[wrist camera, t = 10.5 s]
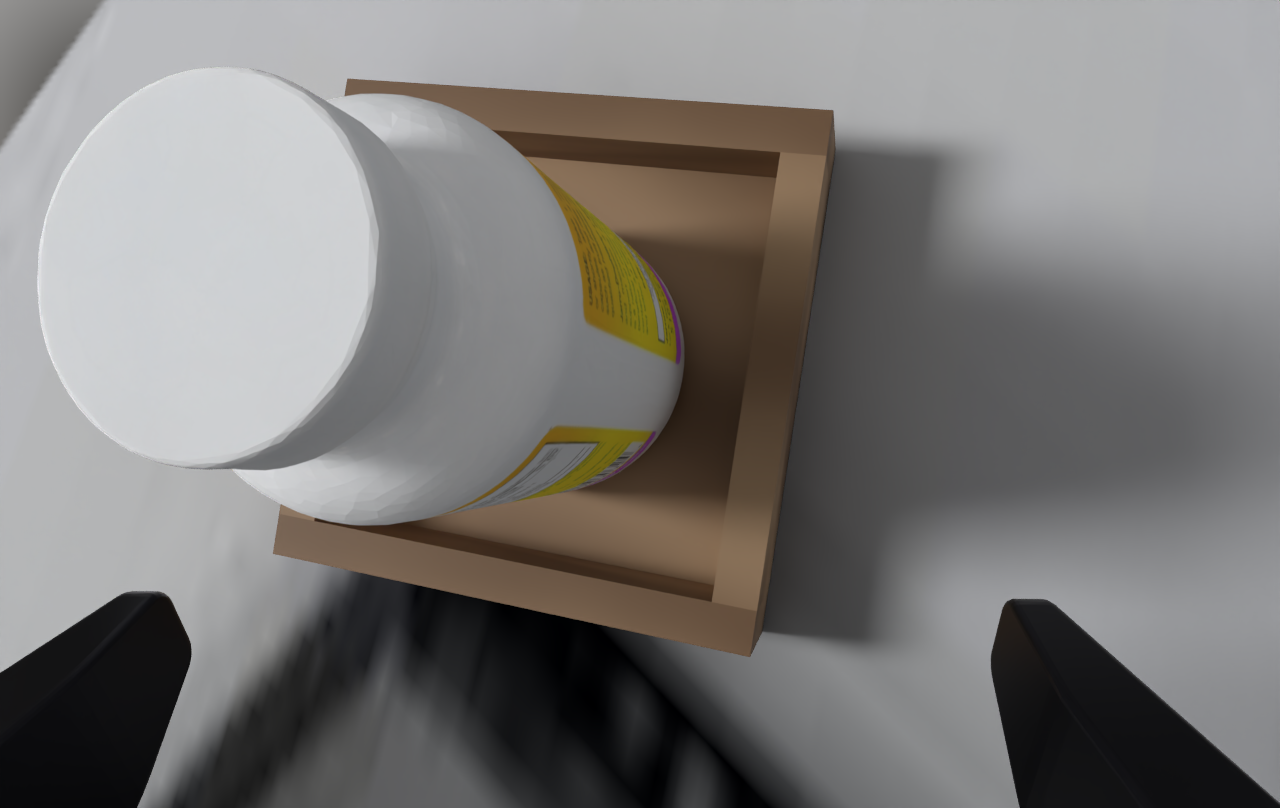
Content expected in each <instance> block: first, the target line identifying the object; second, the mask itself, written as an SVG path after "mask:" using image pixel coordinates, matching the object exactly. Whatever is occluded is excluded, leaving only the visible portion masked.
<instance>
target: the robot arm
mask: <svg viewBox="0 0 1280 808" xmlns="http://www.w3.org/2000/svg"><path fill="white" fill-rule="evenodd" d="M190 661H191V643H190V640H189V638H188V635H187V633H186V631H185V629H184V627H183V625H182V622H181V620H180V618H179V616H178V614H177V612H176V609H175V607H174V605H173V603H172V601H171V599H170V598H169V597H168V596H167V595H166V594H164V593H162V592H154V591H131V592H126V593H123V594H121V595H119V596H118V597H116V598H115V599H113V600H112V601H110V602H108V603H107V604H105V605H104V606H102V607H101V608H99V609H98V610H96V611H95V612H93V613H92V614H90V615H88V616H87V617H85V618H84V619H82V620H81V621H79V622H78V623H76V624H75V625H73V626H72V627H70V628H69V629H67V630H65V631H64V632H62V633H61V634H59V635H58V636H56V637H55V638H53V639H52V640H50V641H49V642H47V643H45V644H44V645H42V646H41V647H39V648H38V649H36V650H35V651H33V652H32V653H30V654H29V655H27V656H26V657H24V658H22V659H21V660H19V661H18V662H16V663H15V664H13V665H12V666H10V667H9V668H7V669H6V670H4V671H2V672H1V673H0V808H137V806H138V804H139V802H140V800H141V797H142V795H143V793H144V790H145V788H146V785H147V783H148V780H149V777H150V775H151V772H152V769H153V767H154V764H155V761H156V758H157V755H158V753H159V750H160V747H161V744H162V741H163V739H164V736H165V733H166V730H167V727H168V724H169V722H170V719H171V716H172V713H173V710H174V708H175V705H176V702H177V699H178V696H179V694H180V691H181V688H182V685H183V682H184V679H185V677H186V674H187V671H188V668H189V665H190ZM991 672H992V678H993V683H994V688H995V693H996V697H997V702H998V707H999V712H1000V717H1001V721H1002V726H1003V731H1004V736H1005V741H1006V745H1007V750H1008V755H1009V760H1010V765H1011V769H1012V774H1013V779H1014V784H1015V789H1016V793H1017V798H1018V802H1019V806H1020V808H1280V803H1279V802H1278V801H1277V800H1276V799H1274V798H1273V797H1272V796H1271V795H1270V794H1269V793H1268V792H1266V791H1265V790H1264V789H1263V788H1262V787H1261V786H1260V785H1259V784H1257V783H1256V782H1255V781H1254V780H1253V779H1252V778H1251V777H1249V776H1248V775H1247V774H1246V773H1245V772H1244V771H1243V770H1242V769H1240V768H1239V767H1238V766H1237V765H1236V764H1235V763H1234V762H1232V761H1231V760H1230V759H1229V758H1228V757H1227V756H1226V755H1225V754H1223V753H1222V752H1221V751H1220V750H1219V749H1218V748H1217V747H1216V746H1214V745H1213V744H1212V743H1211V742H1210V741H1209V740H1208V739H1206V738H1205V737H1204V736H1203V735H1202V734H1201V733H1200V732H1199V731H1197V730H1196V729H1195V728H1194V727H1193V726H1192V725H1191V724H1189V723H1188V722H1187V721H1186V720H1185V719H1184V718H1183V717H1182V716H1180V715H1179V714H1178V713H1177V712H1176V711H1175V710H1174V709H1172V708H1171V707H1170V706H1169V705H1168V704H1167V703H1166V702H1165V701H1163V700H1162V699H1161V698H1160V697H1159V696H1158V695H1157V694H1156V693H1154V692H1153V691H1152V690H1151V689H1150V688H1149V687H1148V686H1146V685H1145V684H1144V683H1143V682H1142V681H1141V680H1140V679H1139V678H1137V677H1136V676H1135V675H1134V674H1133V673H1132V672H1131V671H1129V670H1128V669H1127V668H1126V667H1125V666H1124V665H1123V664H1122V663H1120V662H1119V661H1118V660H1117V659H1116V658H1115V657H1114V656H1112V655H1111V654H1110V653H1109V652H1108V651H1107V650H1106V649H1105V648H1103V647H1102V646H1101V645H1100V644H1099V643H1098V642H1097V641H1096V640H1094V639H1093V638H1092V637H1091V636H1090V635H1089V634H1088V633H1086V632H1085V631H1084V630H1083V629H1082V628H1081V627H1080V626H1079V625H1077V624H1076V623H1075V622H1074V621H1073V620H1072V619H1071V618H1069V617H1068V616H1067V615H1066V614H1065V613H1064V612H1063V611H1062V610H1060V609H1059V608H1058V607H1057V606H1056V605H1055V604H1053V603H1051V602H1050V601H1048V600H1044V599H1011V600H1009V601H1007V602H1006V603H1005V605H1004V607H1003V609H1002V613H1001V617H1000V621H999V625H998V629H997V633H996V637H995V641H994V645H993V649H992V654H991Z"/></svg>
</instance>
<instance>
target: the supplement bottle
mask: <svg viewBox="0 0 1280 808" xmlns="http://www.w3.org/2000/svg"><path fill="white" fill-rule="evenodd" d="M37 284H38V302H39V311H40V320H41V327H42V331H43V335H44V339H45V343H46V347H47V350H48V352H49V355H50V357H51V360H52V362H53V364H54V367H55V369H56V371H57V373H58V375H59V377H60V380H61V381H62V383H63V385H64V386H65V388H66V390H67V391H68V393H69V395H70V396H71V397H72V399H73V400H74V402H75V403H76V405H77V406H78V407H79V409H80V410H81V411H82V412H83V413H84V415H85V416H86V417H87V418H88V419H89V420H90V421H91V422H92V423H93V424H94V425H95V426H96V427H97V428H98V429H100V430H101V431H102V432H103V433H105V434H106V435H107V436H108V437H110V438H111V439H112V440H114V441H115V442H116V443H118V444H119V445H121V446H122V447H123V448H125V449H127V450H129V451H131V452H133V453H135V454H137V455H139V456H142V457H145V458H147V459H150V460H153V461H156V462H159V463H162V464H166V465H171V466H176V467H182V468H191V469H232V470H233V471H234V472H235V473H236V474H237V475H238V476H239V477H241V478H242V479H243V480H244V481H246V482H247V483H248V484H249V485H250V486H252V487H253V488H255V489H256V490H258V491H259V492H260V493H262V494H263V495H265V496H267V497H268V498H270V499H272V500H274V501H276V502H278V503H280V504H282V505H284V506H286V507H288V508H290V509H292V510H294V511H297V512H299V513H302V514H305V515H308V516H311V517H314V518H318V519H322V520H326V521H330V522H336V523H343V524H349V525H390V524H396V523H402V522H409V521H417V520H422V519H427V518H432V517H437V516H442V515H447V514H451V513H456V512H461V511H467V510H472V509H478V508H483V507H488V506H493V505H499V504H504V503H510V502H517V501H521V500H527V499H532V498H538V497H544V496H549V495H553V494H559V493H564V492H568V491H573V490H578V489H581V488H584V487H587V486H590V485H593V484H596V483H599V482H601V481H604V480H606V479H608V478H610V477H612V476H614V475H616V474H617V473H619V472H621V471H622V470H624V469H625V468H626V467H628V466H629V465H631V464H632V463H633V462H634V461H636V460H637V459H638V458H639V457H640V456H641V455H642V454H643V453H644V452H645V451H646V450H648V448H649V447H650V446H651V445H652V444H653V442H654V441H655V440H656V439H657V437H658V436H659V434H660V433H661V431H662V430H663V428H664V427H665V425H666V424H667V422H668V420H669V418H670V416H671V414H672V412H673V409H674V407H675V404H676V402H677V399H678V396H679V392H680V388H681V384H682V378H683V371H684V338H683V332H682V327H681V322H680V319H679V315H678V312H677V309H676V306H675V304H674V301H673V299H672V297H671V295H670V293H669V291H668V289H667V287H666V286H665V284H664V282H663V281H662V279H661V278H660V277H659V276H658V274H657V273H656V272H655V270H654V269H653V268H652V267H651V266H650V265H649V264H648V262H647V261H646V260H645V259H644V258H643V257H642V256H641V255H640V254H639V253H638V252H637V251H636V250H634V249H633V248H632V247H631V246H630V245H629V244H628V243H627V242H625V241H624V240H623V239H622V238H620V237H619V236H618V235H617V234H616V233H614V232H613V231H612V230H611V229H610V228H609V227H608V226H606V225H605V224H604V223H603V222H601V221H600V220H599V219H598V218H597V217H596V216H594V215H593V214H592V213H591V212H590V211H589V210H587V209H586V208H585V207H584V206H582V205H581V204H580V203H579V202H578V201H576V200H575V199H574V198H573V197H572V196H570V195H569V194H568V193H567V192H566V191H564V190H563V189H562V188H561V187H560V186H559V185H557V184H556V183H555V182H554V181H553V180H552V179H550V178H549V177H548V176H547V175H546V174H544V173H543V172H542V171H541V170H540V169H539V168H537V167H536V166H535V165H534V164H533V163H532V162H530V161H529V160H528V159H527V158H526V157H525V156H523V155H522V154H521V153H520V152H519V151H517V150H516V149H515V148H514V147H513V146H512V145H510V144H509V143H508V142H507V141H506V140H504V139H503V138H501V137H500V136H499V135H498V134H496V133H495V132H494V131H492V130H491V129H489V128H488V127H486V126H485V125H483V124H482V123H480V122H478V121H477V120H475V119H473V118H471V117H470V116H468V115H466V114H464V113H462V112H460V111H458V110H455V109H453V108H450V107H448V106H445V105H443V104H440V103H436V102H432V101H428V100H424V99H420V98H415V97H410V96H405V95H395V94H356V95H350V96H343V97H337V98H333V99H329V100H326V101H325V100H323V99H322V98H320V97H318V96H316V95H315V94H313V93H311V92H310V91H308V90H306V89H304V88H303V87H301V86H299V85H297V84H295V83H293V82H291V81H289V80H286V79H284V78H281V77H279V76H276V75H274V74H270V73H267V72H263V71H260V70H254V69H246V68H238V67H211V68H199V69H194V70H188V71H184V72H181V73H177V74H173V75H170V76H168V77H165V78H163V79H161V80H158V81H156V82H154V83H152V84H150V85H148V86H145V87H144V88H142V89H141V90H139V91H138V92H136V93H134V94H132V95H131V96H130V97H128V98H127V99H125V100H124V101H123V102H121V103H120V104H119V105H118V106H117V107H115V108H114V109H113V110H112V111H111V112H110V113H109V114H107V115H106V116H105V117H104V118H103V119H102V120H101V121H100V123H99V124H98V125H97V126H96V127H95V128H94V129H93V130H92V131H91V132H90V134H89V135H88V136H87V137H86V139H85V140H84V141H83V143H82V144H81V145H80V147H79V148H78V150H77V151H76V153H75V154H74V156H73V158H72V159H71V161H70V162H69V164H68V165H67V167H66V168H65V170H64V172H63V173H62V176H61V178H60V180H59V183H58V185H57V187H56V189H55V192H54V194H53V196H52V199H51V202H50V205H49V208H48V211H47V215H46V218H45V221H44V226H43V230H42V235H41V240H40V246H39V263H38V278H37Z"/></svg>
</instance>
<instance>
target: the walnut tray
mask: <svg viewBox="0 0 1280 808" xmlns="http://www.w3.org/2000/svg"><path fill="white" fill-rule="evenodd" d="M356 94H395V95H405V96H410V97H415V98H420V99H424V100H428V101H432V102H436V103H440V104H443V105H445V106H448V107H450V108H453V109H455V110H458V111H460V112H462V113H464V114H466V115H468V116H470V117H471V118H473V119H475V120H477V121H478V122H480V123H482V124H483V125H485V126H486V127H488V128H489V129H491V130H492V131H494V132H495V133H496V134H498V135H499V136H500V137H501V138H503V139H504V140H506V141H507V142H508V143H509V144H510V145H512V146H513V147H514V148H515V149H516V150H517V151H519V152H520V153H521V154H522V155H523V156H525V157H526V158H527V159H528V160H529V161H530V162H532V163H533V164H534V165H535V166H536V167H537V168H539V169H540V170H541V171H542V172H543V173H544V174H546V175H547V176H548V177H549V178H550V179H552V180H553V181H554V182H555V183H556V184H557V185H559V186H560V187H561V188H562V189H563V190H564V191H566V192H567V193H568V194H569V195H570V196H572V197H573V198H574V199H575V200H576V201H578V202H579V203H580V204H581V205H582V206H584V207H585V208H586V209H587V210H589V211H590V212H591V213H592V214H593V215H594V216H596V217H597V218H598V219H599V220H600V221H601V222H603V223H604V224H605V225H606V226H608V227H609V228H610V229H611V230H612V231H613V232H614V233H616V234H617V235H618V236H619V237H620V238H622V239H623V240H624V241H625V242H627V243H628V244H629V245H630V246H631V247H632V248H633V249H634V250H636V251H637V252H638V253H639V254H640V255H641V256H642V257H643V258H644V259H645V260H646V261H647V262H648V264H649V265H650V266H651V267H652V268H653V269H654V270H655V272H656V273H657V274H658V276H659V277H660V278H661V279H662V281H663V282H664V284H665V286H666V287H667V289H668V291H669V293H670V295H671V297H672V299H673V301H674V304H675V306H676V309H677V312H678V315H679V319H680V322H681V327H682V332H683V338H684V371H683V378H682V384H681V388H680V392H679V396H678V399H677V402H676V404H675V407H674V409H673V412H672V414H671V416H670V418H669V420H668V422H667V424H666V425H665V427H664V428H663V430H662V431H661V433H660V434H659V436H658V437H657V439H656V440H655V441H654V442H653V444H652V445H651V446H650V447H649V448H648V450H646V451H645V452H644V453H643V454H642V455H641V456H640V457H639V458H638V459H637V460H636V461H634V462H633V463H632V464H631V465H629V466H628V467H626V468H625V469H624V470H622V471H621V472H619V473H617V474H616V475H614V476H612V477H610V478H608V479H606V480H604V481H601V482H599V483H596V484H593V485H590V486H587V487H584V488H581V489H578V490H573V491H568V492H564V493H559V494H553V495H549V496H544V497H538V498H532V499H527V500H521V501H517V502H510V503H504V504H499V505H493V506H488V507H483V508H478V509H472V510H467V511H461V512H456V513H451V514H447V515H442V516H437V517H432V518H427V519H422V520H417V521H409V522H402V523H396V524H390V525H349V524H343V523H336V522H330V521H326V520H322V519H318V518H314V517H311V516H308V515H305V514H302V513H299V512H297V511H294V510H292V509H290V508H288V507H286V506H284V505H282V504H281V506H280V512H279V519H278V525H277V531H276V538H275V544H274V550H273V554H277V555H282V556H286V557H291V558H295V559H300V560H305V561H309V562H314V563H318V564H323V565H328V566H332V567H337V568H342V569H346V570H351V571H355V572H360V573H365V574H369V575H374V576H378V577H383V578H388V579H392V580H397V581H402V582H406V583H411V584H415V585H420V586H425V587H429V588H434V589H438V590H443V591H448V592H452V593H457V594H462V595H466V596H471V597H475V598H480V599H485V600H489V601H494V602H498V603H503V604H508V605H512V606H517V607H521V608H526V609H531V610H535V611H540V612H545V613H549V614H554V615H558V616H563V617H568V618H572V619H577V620H581V621H586V622H591V623H595V624H600V625H605V626H609V627H614V628H618V629H623V630H628V631H632V632H637V633H641V634H646V635H651V636H655V637H660V638H665V639H669V640H674V641H678V642H683V643H688V644H692V645H697V646H701V647H706V648H711V649H715V650H720V651H725V652H729V653H734V654H738V655H743V656H748V657H750V656H751V654H752V652H753V650H754V648H755V645H756V643H757V641H758V639H759V637H760V635H761V633H762V629H763V622H764V616H765V609H766V602H767V596H768V589H769V583H770V576H771V570H772V563H773V557H774V550H775V543H776V537H777V530H778V524H779V517H780V511H781V504H782V497H783V491H784V484H785V478H786V471H787V465H788V458H789V452H790V445H791V438H792V432H793V425H794V419H795V412H796V406H797V399H798V392H799V386H800V379H801V373H802V366H803V360H804V353H805V347H806V340H807V333H808V327H809V320H810V314H811V307H812V301H813V294H814V287H815V281H816V274H817V268H818V261H819V255H820V248H821V242H822V235H823V228H824V222H825V215H826V209H827V202H828V196H829V189H830V182H831V176H832V169H833V163H834V156H835V150H836V148H835V131H834V114H833V110H819V109H804V108H789V107H773V106H758V105H743V104H727V103H712V102H697V101H681V100H666V99H651V98H635V97H620V96H604V95H589V94H574V93H558V92H543V91H528V90H512V89H497V88H482V87H466V86H451V85H436V84H420V83H405V82H390V81H374V80H359V79H347V84H346V91H345V96H350V95H356Z"/></svg>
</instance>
